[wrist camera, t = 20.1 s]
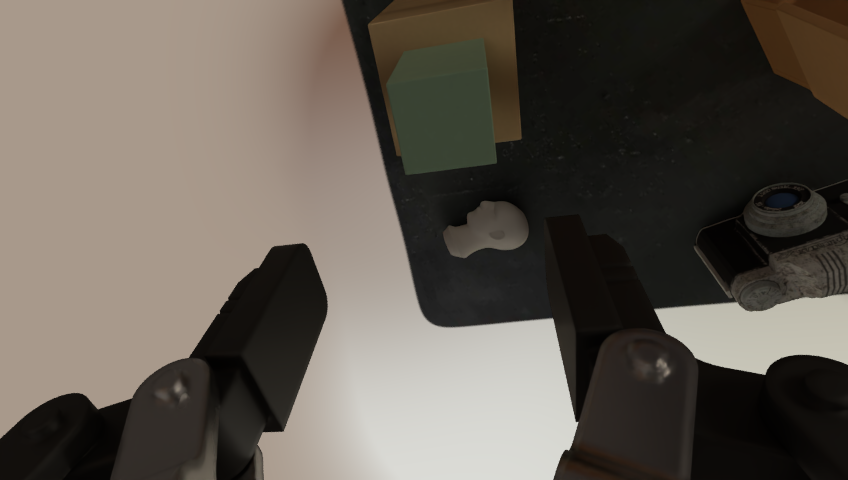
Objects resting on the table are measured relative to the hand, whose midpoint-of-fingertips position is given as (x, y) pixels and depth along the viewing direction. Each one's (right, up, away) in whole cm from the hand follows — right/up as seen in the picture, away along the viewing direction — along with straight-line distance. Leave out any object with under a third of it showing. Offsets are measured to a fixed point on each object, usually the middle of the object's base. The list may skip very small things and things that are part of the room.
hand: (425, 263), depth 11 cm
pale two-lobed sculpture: (+6, +3, +35) cm, 35 cm away
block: (+1, +9, +13) cm, 16 cm away
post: (+2, +17, +25) cm, 31 cm away
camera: (+32, +4, +31) cm, 45 cm away
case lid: (+24, +10, +15) cm, 30 cm away
